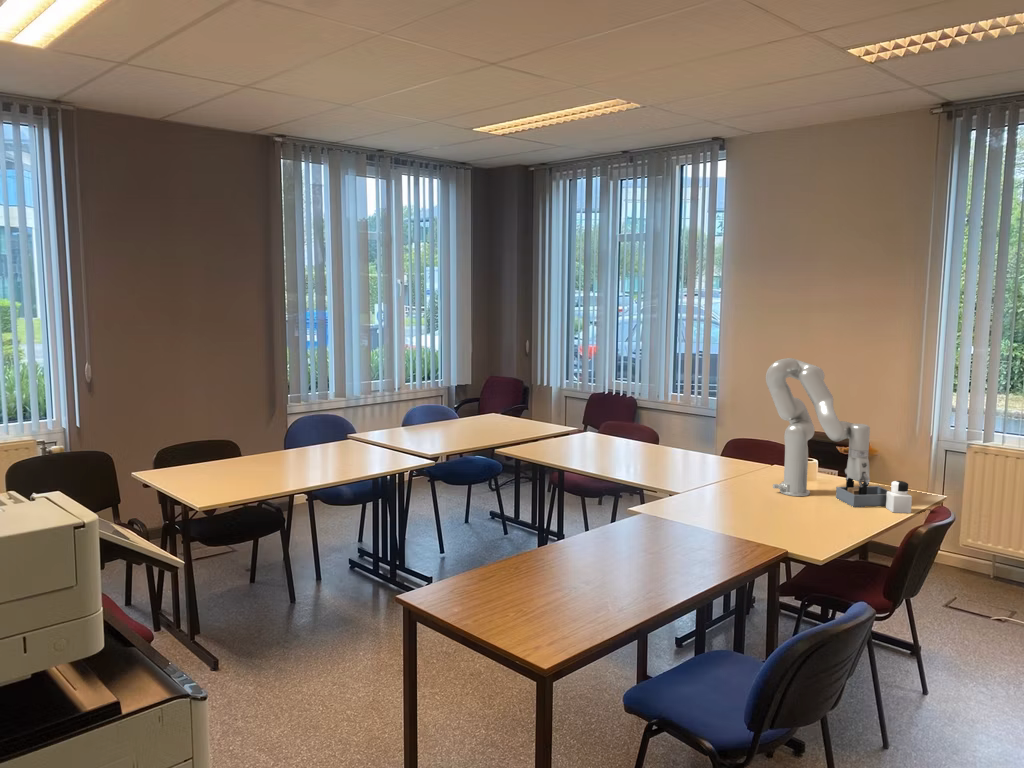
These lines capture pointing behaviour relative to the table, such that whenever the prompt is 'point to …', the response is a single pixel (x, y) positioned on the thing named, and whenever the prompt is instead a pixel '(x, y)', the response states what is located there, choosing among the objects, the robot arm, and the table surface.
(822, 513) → the table surface
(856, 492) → the walnut cube
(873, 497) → the tote
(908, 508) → the medicine bottle
